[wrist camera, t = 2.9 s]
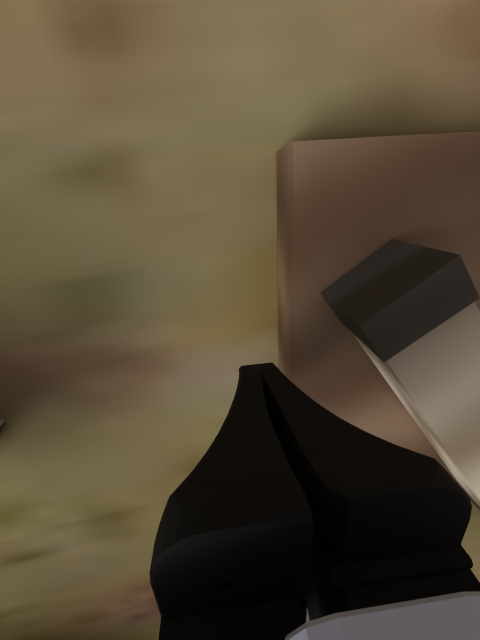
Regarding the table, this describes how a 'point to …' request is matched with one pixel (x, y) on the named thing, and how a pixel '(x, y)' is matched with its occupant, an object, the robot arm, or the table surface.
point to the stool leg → (422, 343)
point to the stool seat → (364, 255)
